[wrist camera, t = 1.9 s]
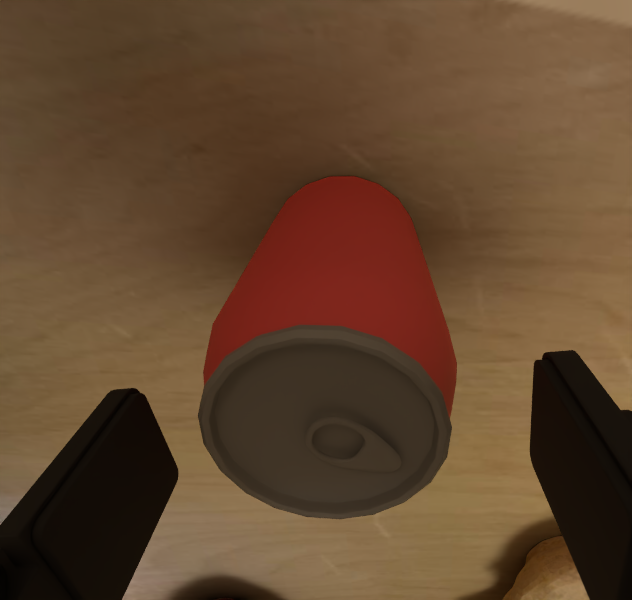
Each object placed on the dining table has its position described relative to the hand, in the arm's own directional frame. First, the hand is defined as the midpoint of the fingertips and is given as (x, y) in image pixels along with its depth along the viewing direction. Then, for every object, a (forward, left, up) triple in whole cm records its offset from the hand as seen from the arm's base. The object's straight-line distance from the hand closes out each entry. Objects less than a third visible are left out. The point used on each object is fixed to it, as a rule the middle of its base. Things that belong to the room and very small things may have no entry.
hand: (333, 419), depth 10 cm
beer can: (0, 0, -11) cm, 11 cm away
